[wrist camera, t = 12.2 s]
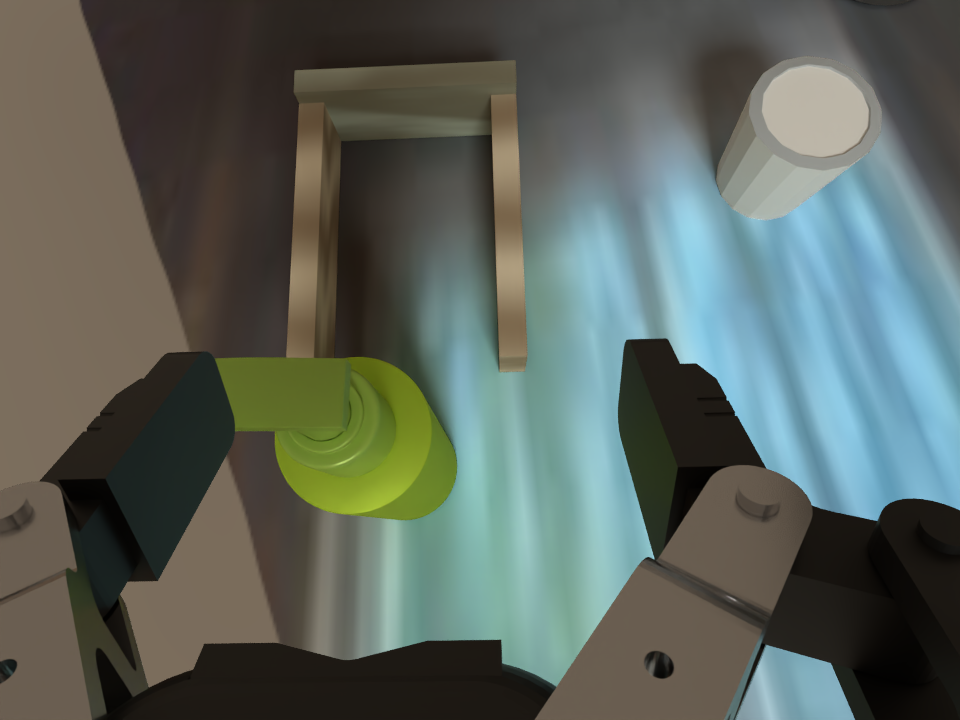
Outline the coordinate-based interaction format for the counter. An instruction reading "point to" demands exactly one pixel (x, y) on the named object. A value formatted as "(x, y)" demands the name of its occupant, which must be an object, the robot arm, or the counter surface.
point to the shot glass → (797, 135)
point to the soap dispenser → (346, 432)
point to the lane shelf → (398, 115)
